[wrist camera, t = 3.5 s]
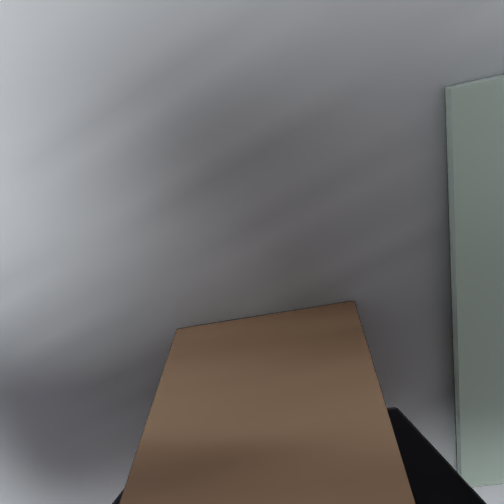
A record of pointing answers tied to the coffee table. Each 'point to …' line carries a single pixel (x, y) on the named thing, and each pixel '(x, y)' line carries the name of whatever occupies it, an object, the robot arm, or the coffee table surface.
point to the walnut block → (270, 417)
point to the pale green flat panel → (477, 273)
